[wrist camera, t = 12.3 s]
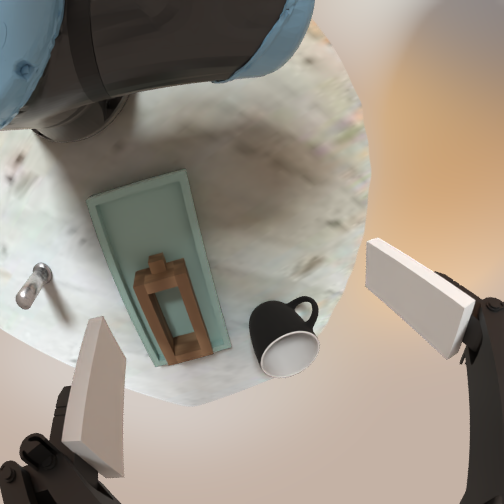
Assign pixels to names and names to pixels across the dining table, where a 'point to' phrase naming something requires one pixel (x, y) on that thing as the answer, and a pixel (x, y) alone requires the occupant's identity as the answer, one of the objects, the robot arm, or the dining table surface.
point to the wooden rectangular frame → (145, 289)
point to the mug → (283, 337)
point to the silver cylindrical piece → (33, 285)
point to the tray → (153, 242)
